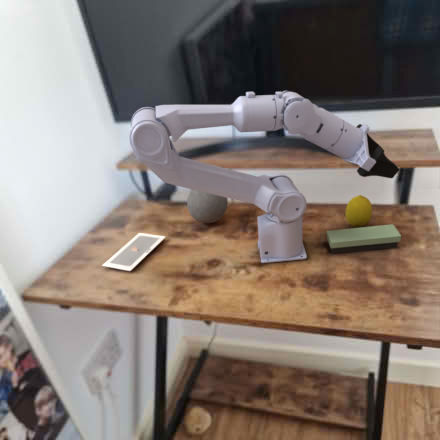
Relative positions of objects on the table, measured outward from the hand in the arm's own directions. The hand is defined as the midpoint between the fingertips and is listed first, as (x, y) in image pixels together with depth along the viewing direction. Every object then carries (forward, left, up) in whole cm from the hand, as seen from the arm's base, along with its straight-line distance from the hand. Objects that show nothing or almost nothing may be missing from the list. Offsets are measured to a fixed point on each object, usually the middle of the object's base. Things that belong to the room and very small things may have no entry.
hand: (387, 163), depth 79 cm
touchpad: (-55, +2, -16) cm, 57 cm away
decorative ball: (-38, +15, -16) cm, 43 cm away
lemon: (-4, +4, -16) cm, 17 cm away
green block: (-5, -4, -16) cm, 17 cm away
